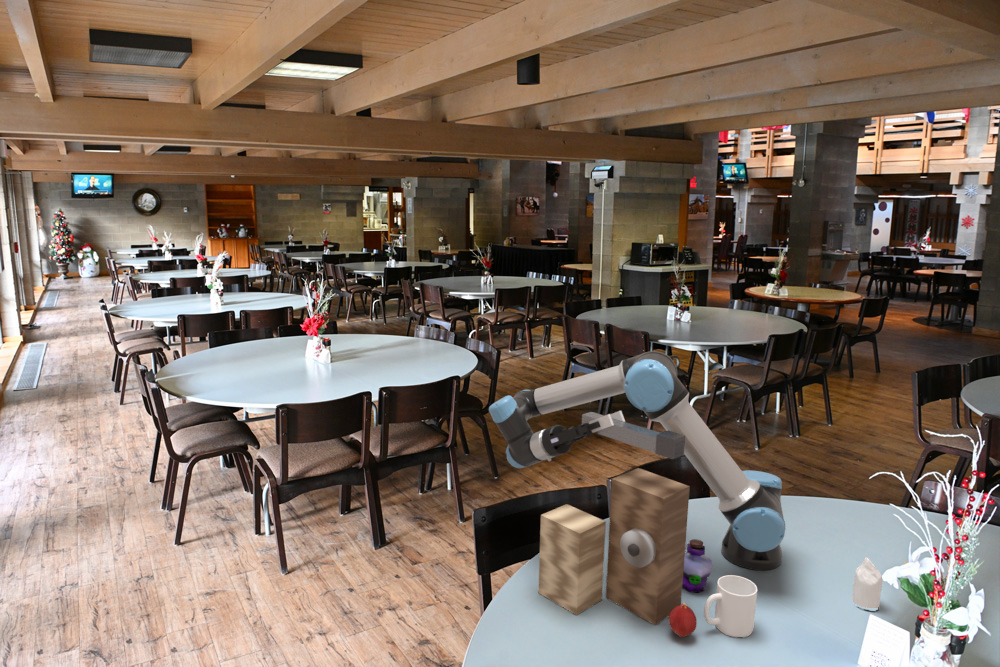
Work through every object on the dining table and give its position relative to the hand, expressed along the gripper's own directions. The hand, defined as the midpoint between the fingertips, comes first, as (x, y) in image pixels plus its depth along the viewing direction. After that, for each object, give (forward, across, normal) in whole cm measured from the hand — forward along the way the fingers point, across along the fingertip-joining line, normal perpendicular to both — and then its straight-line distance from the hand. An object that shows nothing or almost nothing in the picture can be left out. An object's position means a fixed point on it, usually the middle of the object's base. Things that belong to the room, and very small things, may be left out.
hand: (616, 418), depth 158 cm
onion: (-1, +4, -49) cm, 49 cm away
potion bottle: (-9, -15, -44) cm, 48 cm away
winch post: (-12, +2, -42) cm, 44 cm away
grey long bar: (+1, 0, -6) cm, 6 cm away
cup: (+3, -6, -51) cm, 52 cm away
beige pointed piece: (+18, -39, -60) cm, 74 cm away
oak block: (-24, +11, -36) cm, 44 cm away
